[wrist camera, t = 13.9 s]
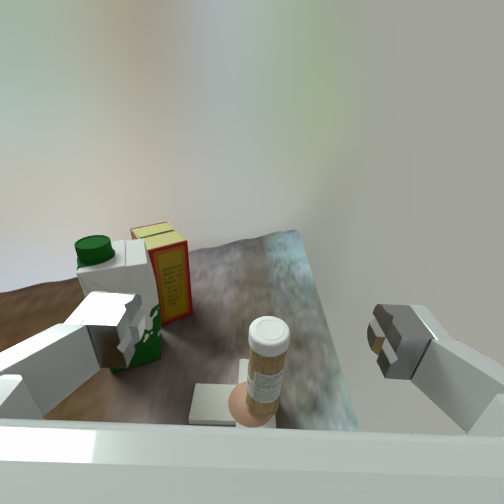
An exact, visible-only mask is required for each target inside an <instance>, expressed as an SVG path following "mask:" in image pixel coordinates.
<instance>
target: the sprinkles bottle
mask: <svg viewBox="0 0 504 504" xmlns="http://www.w3.org/2000/svg"><path fill="white" fill-rule="evenodd" d="M289 340H290V330H289V327H288V326H287V324H286V323H285V322H284V321H282V320H281V319H279V318H276V317H272V316H264V317H260V318H258V319H256V320H254V321H253V322H252V324H251V325H250V328H249V345H250V350H249V361H248V374H247V395H246V406H247V409H248V410H249V412H250V413H251V414H252V415H254V416H255V417H257V418H269V417H271V416H273V415H274V414H275V413H276V412H277V410H278V407H279V394H280V391H281V385H282V379H283V372H284V366H285V355H286V351H287V348H288V346H289Z"/></svg>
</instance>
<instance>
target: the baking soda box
mask: <svg viewBox="0 0 504 504" xmlns="http://www.w3.org/2000/svg"><path fill="white" fill-rule="evenodd" d="M131 235H132V240H136V239H144V242H145V245H146V248H147V252H148V255H149V258H150V261H151V264H152V268H153V272H154V276H155V280H156V286H157V293H158V299H159V306H160V313H161V323H162V326H163V325H165V324H168V323H170V322H173V321H175V320H178V319H180V318H183V317H185V316H188V315H190V314H193V309H192V296H191V283H190V271H189V258H188V245H187V240H186V239H185V238H183V237H182V236H181V235H180V234H179V233H178V232H177V231H176V230H175V229H174V228H172V227H171V226H170V225H169V224H168V223H167V222H163V223H158V224H153V225H148V226H142V227H137V228H133V229H131Z"/></svg>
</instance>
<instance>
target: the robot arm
mask: <svg viewBox="0 0 504 504" xmlns="http://www.w3.org/2000/svg"><path fill="white" fill-rule="evenodd" d="M141 305H142V299H141V295H139V294H138V293H122V292H104V291H93V292H91V293H90V294H89V295H88V296H87V297H86V298H85V299H84V301H83V302H82V303H81V304H80V305H79V306H78V308H77V309H76V310H75V311H74V312H73V313H72V314H71V316H70V317H69V318H68V319H67V320H66V321H65V322H64V324H57V325H55V326H53V327H51V328H49V329H47V330H45V331H43V332H41V333H39V334H37V335H35V336H33V337H31V338H29V339H27V340H25V341H23V342H21V343H19V344H17V345H15V346H13V347H11V348H9V349H7V350H5V351H3V352H1V353H0V504H504V367H503V366H501V365H500V364H498V363H496V362H494V361H493V360H491V359H489V358H488V357H486V356H484V355H482V354H481V353H479V352H477V351H475V350H474V349H472V348H470V347H469V346H467V345H465V344H463V343H462V342H460V341H456V340H453V339H452V338H451V337H450V336H449V334H448V333H447V332H446V331H445V330H444V328H443V327H442V326H441V325H440V324H439V322H438V321H437V320H436V319H435V318H434V317H433V316H432V314H431V313H430V312H429V311H428V309H427V308H426V307H424V306H422V305H386V304H377V305H376V307H375V309H374V311H373V315H374V316H375V319H374V320H373V321H371V322H370V323H369V326H368V330H367V338H368V343H369V346H370V348H371V350H372V351H373V352H375V353H376V354H377V355H378V359H377V363H378V365H379V367H380V369H381V371H382V373H383V375H384V377H385V378H388V379H403V380H404V379H405V380H411V382H412V383H413V384H415V386H417V387H418V388H419V389H420V390H421V391H422V392H423V393H424V394H425V395H426V396H427V397H428V398H430V399H431V400H432V401H433V402H434V403H435V404H436V405H437V406H438V407H439V408H440V409H441V410H443V411H444V412H445V413H446V414H447V415H448V416H449V417H450V418H451V419H452V420H453V421H454V422H455V423H456V424H457V425H459V426H460V427H461V428H462V429H463V430H464V431H465V432H466V433H467V435H441V434H440V435H439V434H414V433H386V432H385V433H384V432H357V431H329V430H301V429H275V428H248V427H222V426H195V425H168V424H141V423H114V422H87V421H60V420H45V419H44V417H43V416H45V415H46V414H47V413H48V412H49V411H51V410H52V409H53V408H54V407H55V406H57V405H58V404H59V403H60V402H61V401H63V400H64V399H65V398H66V397H67V396H69V395H70V394H71V393H72V392H73V391H75V390H76V389H77V388H78V387H79V386H80V385H82V384H83V383H84V382H85V381H86V380H88V379H89V378H90V377H91V376H92V375H94V374H95V373H96V372H97V371H98V370H100V368H127V367H128V365H129V363H130V361H131V359H132V357H133V355H134V353H135V348H134V345H135V344H136V343H138V342H139V341H140V340H141V338H142V336H143V333H144V329H145V314H144V313H143V312H142V311H141V310H140V307H141Z"/></svg>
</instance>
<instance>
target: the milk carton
mask: <svg viewBox="0 0 504 504" xmlns="http://www.w3.org/2000/svg"><path fill="white" fill-rule="evenodd" d="M75 249H76V252H77V256H78V258H77V264H78V267H77V276H78V279H79V282H80V284H81V287H82V289H83V292H84V295H85V298H86V297H87V296H88V295H89V294H90V293H91V292H93V291H104V292H122V293H138V294H139V295H141V299H142V305H141V307H140V310H141V311H142V312H143V313H144V314H145V329H144V333H143V336H142V338H141V340H140V341H139V342H138V343H136V344H135V345H134V348H135V353H134V355H133V357H132V359H131V361H130V363H129V365H128V367H127V368H130V367H134V366H137V365H141V364H145V363H148V362H152V361H156V360H159V359H161V334H162V323H161V313H160V306H159V299H158V293H157V286H156V280H155V276H154V272H153V268H152V264H151V261H150V258H149V255H148V252H147V248H146V245H145V242H144V239H136V240H128V241H125V240H119V241H114V242H111V241H110V238H109V237H107V236H104V235H93V236H88V237H85V238H82V239H80V240H78V241H77V242H76V243H75ZM123 369H126V368H110V371H111V373H112V372H115V371H119V370H123Z"/></svg>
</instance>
